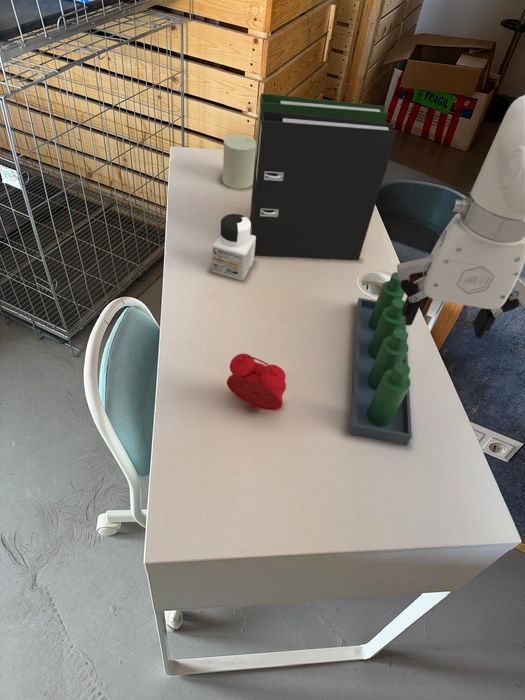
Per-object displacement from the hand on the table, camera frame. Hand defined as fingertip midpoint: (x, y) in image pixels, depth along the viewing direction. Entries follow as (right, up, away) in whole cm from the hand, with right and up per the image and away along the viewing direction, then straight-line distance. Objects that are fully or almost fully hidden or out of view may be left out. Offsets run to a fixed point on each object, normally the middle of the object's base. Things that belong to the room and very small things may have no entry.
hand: (441, 325), depth 67 cm
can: (-32, +46, +74) cm, 92 cm away
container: (-32, +16, +46) cm, 58 cm away
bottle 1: (0, +2, +36) cm, 36 cm away
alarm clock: (-26, -14, +20) cm, 36 cm away
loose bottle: (-4, -15, +20) cm, 26 cm away
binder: (-15, +24, +56) cm, 62 cm away
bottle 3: (-3, -10, +25) cm, 27 cm away
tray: (-2, -7, +29) cm, 30 cm away
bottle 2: (-1, -4, +31) cm, 31 cm away
